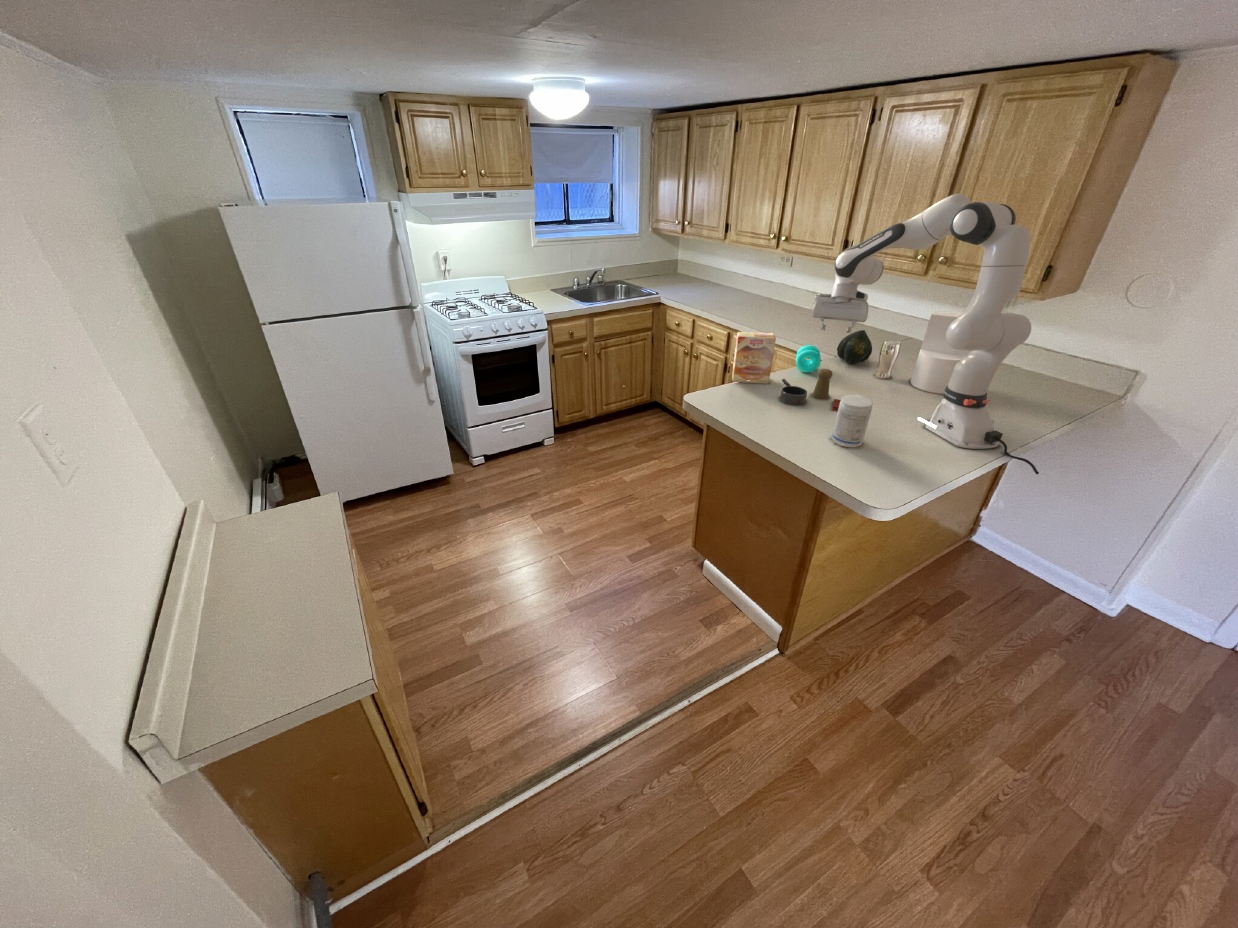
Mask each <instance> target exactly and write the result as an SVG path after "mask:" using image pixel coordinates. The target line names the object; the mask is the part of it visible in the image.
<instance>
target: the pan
mask: <svg viewBox="0 0 1238 928" xmlns="http://www.w3.org/2000/svg"><path fill="white" fill-rule="evenodd" d="M807 395H808V391H807V389H806V388H803V387H802V386H801V387H800V386H795V385H791V386H786V385H785V386H783V387H782V388H781V391H780V395H779V400H780V402H782V403H783V404H786V405H790V406H802V405H804V404H805V403H806V400H807Z"/></svg>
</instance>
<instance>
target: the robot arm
mask: <svg viewBox="0 0 1238 928" xmlns="http://www.w3.org/2000/svg"><path fill="white" fill-rule="evenodd" d="M1016 220H1017V216H1016V212H1015V211H1014V209H1013V208H1012V207H1010V206H1009V205H1007V204H1004V203H997V202H993V201H981V202H980V201H974V202H972V201H971V200H970V198H969V197H968V196H966V195H964V194H962V193H953V194H951V195H949V196H947V197H945V198H943V199H941V200H939V201H937V202H935V203H933V204H932V205H931V206H929V207H928V208H926V209H925V210H923V211H922V212H920V213H919V214H917V215H914V216H913V217H911V218H908V219H907V220H904V221H902V222H898V223H895V224H892V225H890V226H888V227H886V228H884V229H882V230H880V231H879V232H877V233H876V234H874V235H872V236H870V237H869V238H866V239H865V240H863V241H861V242H859V243H858V244H856V245H853V246H849V247H847V248H845V249H843V250H842V251H840V253H838V255H837V256H836V258H835V261H834V271H835V276H834V278H835V279H834V283H833V285H832V289H831V293H818V294H816V295H815V296H814V298H813V308H812V312H811V316H812V318H813V319H819V323H820V325H821V329H820V330H821V331H826V327H827V324H824V321H825V320H834V321H843V322H851V325H850V326H848V327H847V329H846V333H849V334H852V329H853V328H854V327H855V326H856V324H857V323H865V322H866V321H867V320H868V318H869V317H868V316H869V302H868V299H869V295H868V293H866V292H863V291H861V290H858V287H859V286H860V285H862V286H863V285H864V286H865V285H867V286H868V285H872V284H875V283H877V282H878V281H879V280H880V278H881V277H882V275H883V272H884V262H883V261H882V259H880V258H877V257H875V255H877V254H879V253H881V252H883V251H885V250H888V249H889V250H890V249H908V250H913V251H922V250H925V249H927V248H930V247H932V246H934V245H936V244H937V243H939V242H941V241H942V240H943V239H945V238H947V237H948V236H950V235H951V236H953V238H955V239H957V240H958V241H961V242H963V243H967V244H971V245H974V246H978V245H981V246H982V249H983V256H982V261H981V266H980V270H979V275H978V279H977V282H976V286H975V289H974V292H973V295H972V297H971V299H970V301H969V303H968V304H967V306H966V308H965V309H964V310H963V312H961V313H962V314H961V315H960V316H959V317H958V318H957V319H955V320H954V321H953V322H952V323H951V324H950V325H949V327H948V329H947V332H946V339H947V342H948V344H949V345H950V346H951V347H952V348H954V349H958V350H964V351H971V352H970V353H969V354H968V355H967V356H966V357H964V358H963V359H961V360H960V361H959V362H958V363H957V364H956V365H955V367H954V370H953V373H952V375H951V378H950V381H949V384H948V385H947V386H946V388H945V390H944V393H943V394H942V399H941V400H940V402H939V403H938V404H937V406H936V408H935V409H934V412H933V414H932V416H931V419H930V420H929V421H928V420H926V419H924V418H922V417H917V421H919V422H922V423H924V424H925V429H927V430H929V431H930V432H931V433H933V434H935V435H937V436H939V437H940V438H942V439H944V440H945V441H947V442H949V443H951V444H952V445H954V446H956V447H958V448H964V449H970V450H971V449H972V450H987V449H994V448H997V447H998V446H999V444H1002V446H1003V453H1004V454H1005V455H1006V456H1007V457H1009V458H1011V459H1015V460H1018V461H1022V462H1024V463H1026V464H1028V465H1029V466H1030V467H1031V468H1032V470H1033V472H1034V473H1035V475H1039V474H1040V472H1039V471H1038V469H1037V468H1036V466H1035V465H1034V464H1033V462H1032V461H1030V460H1028V459H1026V458H1023V457H1021V456H1020V457H1019V456H1015V455H1012V454H1011V453H1009V452H1008V445H1007V444H1006V442H1005V441H1003V439H1002V436H1003V435H1004V433H1003V432H1000V431H998V430H995V424H994V423H995V421H994V419H992V417H991V416H990V414H989V412H988V410H987V405H988V404H989V402H991V399H988V390H989V387H990V386H991V385H990V384H991V382H992V380H993V378H994V376H995V373H996V371H997V370H998V369H999V367H1000V366H1001V365H1002V363H1003V362H1004V360H1005V359H1006V358H1007V357H1008V356H1009V355H1010V354H1011V353H1012V351H1014V350H1015V349H1016V348H1017V347H1020V346H1021V345H1022V344H1023V343H1025V342H1026V341H1027V340H1028V339H1029V337H1030V335H1031V332H1032V323H1031V321H1030V319H1029V318H1028V317H1027V316H1026V315H1024V314H1019V313H1014V312H1003V310H1004V308H1005V307H1006V306H1007V304H1008V303H1009V302H1010V301H1012V300H1013V299H1014V298H1016V297H1017V296H1018V295H1019V294H1020V291H1021V289H1022V285H1023V280H1024V277H1025V273H1026V268H1027V265H1028V260H1029V254H1030V245H1031V232H1030V229H1028V228H1027V227H1026V226H1023V225H1020V224H1016V222H1017V221H1016Z"/></svg>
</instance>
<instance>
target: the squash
mask: <svg viewBox="0 0 1238 928" xmlns="http://www.w3.org/2000/svg"><path fill="white" fill-rule="evenodd" d="M872 352H873V343H872V341H871V340H870V337H869V336H868V333H867V332H866V330H865V329H861V330H856V331H853V332H851V333H849V334H848V335H847V336H845V337H843V338H842V339H841V340H840V342H839V343H838V345H837V347H836V353H837V354H836V355H837V357H838V358H839V359H841V360H843V361H844V362H845V363H846V364H847V365H849V364H853V365H855V364H856V365H857V364H859V363H864V362H866V361H868V360H869V358H870V356H871V355H872Z"/></svg>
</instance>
